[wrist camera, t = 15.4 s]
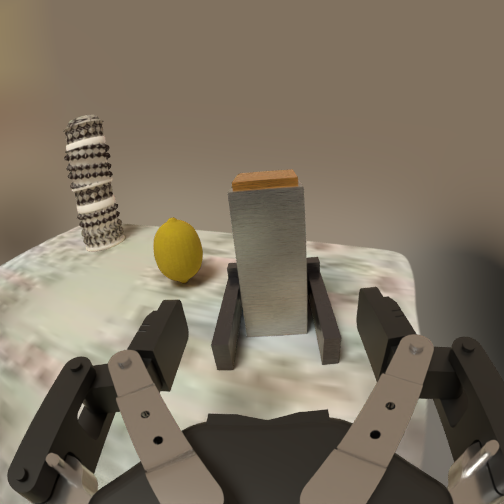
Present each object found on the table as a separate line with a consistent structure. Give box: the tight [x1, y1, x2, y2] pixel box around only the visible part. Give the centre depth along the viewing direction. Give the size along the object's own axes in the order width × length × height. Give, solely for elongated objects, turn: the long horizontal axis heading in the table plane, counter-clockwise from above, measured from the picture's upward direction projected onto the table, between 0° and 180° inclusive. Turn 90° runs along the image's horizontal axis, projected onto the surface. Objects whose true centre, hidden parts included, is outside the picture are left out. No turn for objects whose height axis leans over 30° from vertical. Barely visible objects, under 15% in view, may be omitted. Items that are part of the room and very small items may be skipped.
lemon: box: [154, 217, 203, 283], centre depth 32 cm, size 6×6×8 cm
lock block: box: [228, 170, 307, 337], centre depth 23 cm, size 5×5×13 cm
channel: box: [211, 257, 341, 370], centre depth 24 cm, size 11×9×4 cm
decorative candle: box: [64, 115, 125, 252], centre depth 47 cm, size 9×9×25 cm
